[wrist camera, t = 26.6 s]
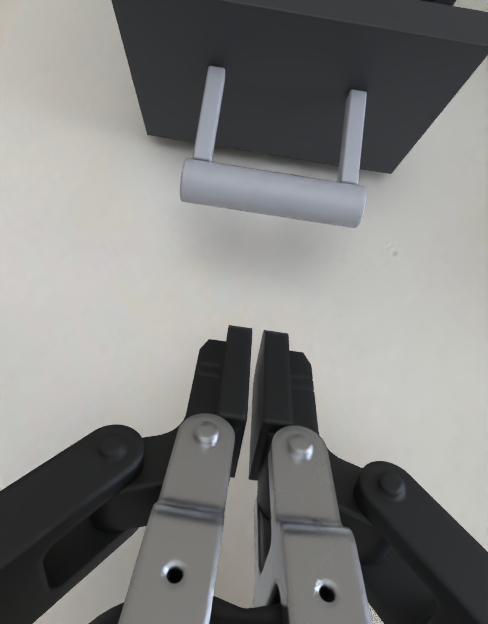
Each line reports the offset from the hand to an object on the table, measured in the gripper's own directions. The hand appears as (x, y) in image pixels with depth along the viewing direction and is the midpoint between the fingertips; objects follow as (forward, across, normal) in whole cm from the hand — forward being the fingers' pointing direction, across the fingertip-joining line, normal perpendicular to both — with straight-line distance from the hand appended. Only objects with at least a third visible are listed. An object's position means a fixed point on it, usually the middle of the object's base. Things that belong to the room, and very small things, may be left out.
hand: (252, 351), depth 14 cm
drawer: (+14, 0, -6) cm, 15 cm away
